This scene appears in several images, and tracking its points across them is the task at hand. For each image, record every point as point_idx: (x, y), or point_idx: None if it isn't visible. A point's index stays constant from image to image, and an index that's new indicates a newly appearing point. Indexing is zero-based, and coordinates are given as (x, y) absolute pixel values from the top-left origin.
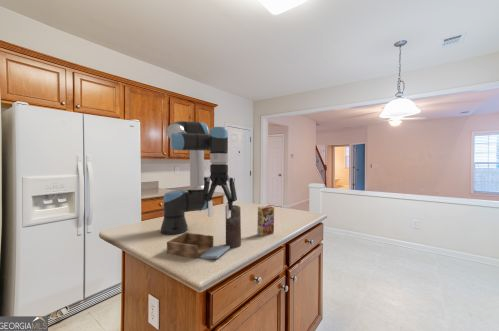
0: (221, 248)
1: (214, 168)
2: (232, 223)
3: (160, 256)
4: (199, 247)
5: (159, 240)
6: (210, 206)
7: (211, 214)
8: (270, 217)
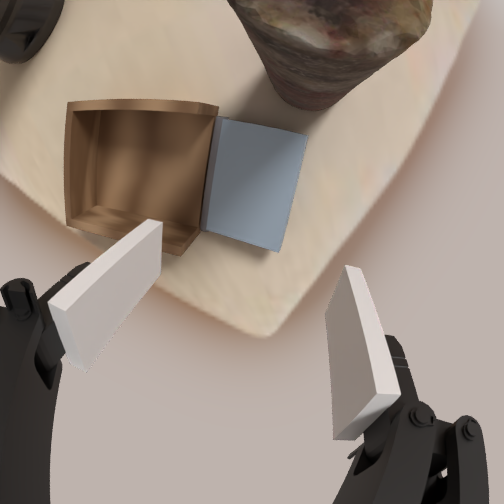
0: (273, 162)
1: None
2: (329, 91)
3: None
4: (161, 132)
5: (27, 109)
6: (113, 315)
7: (155, 251)
8: None
